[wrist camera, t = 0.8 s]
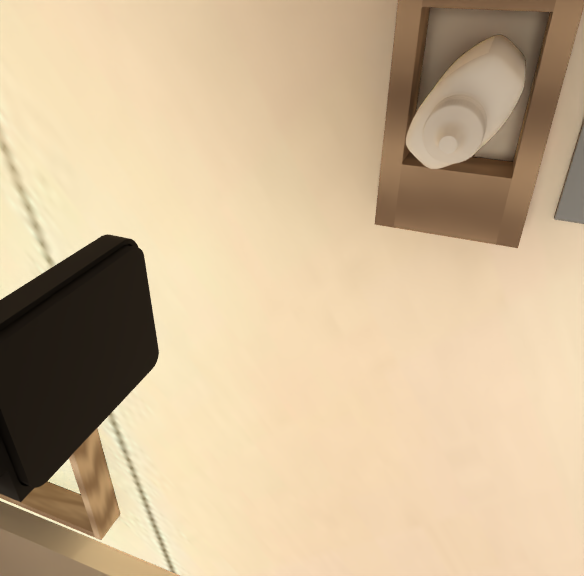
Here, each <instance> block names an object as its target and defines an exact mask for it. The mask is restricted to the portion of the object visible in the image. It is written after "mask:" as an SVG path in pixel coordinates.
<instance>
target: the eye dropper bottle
mask: <svg viewBox="0 0 584 576" xmlns="http://www.w3.org/2000/svg"><path fill="white" fill-rule="evenodd" d="M525 67H526V60H525V58H524V55H523V54H522V53H521V52H520V51H519V50H518V49H517V47H516V46H515V45H514V44H513V43H512V42H511V41H510V40H509V39H507V38H506V37H505V36H502V35H495V36H493V37H490V38H488V39H486V40H484V41H482V42H481V43H479V44H477V45H476V46H474V47H473V48H471V49H470V50H468V51H467V52H466V53H464V54H463V55H462V56H461V57H460V58H458V59H457V60H456V61H455V62H454V63H453V64H452V65H451V66H450V67H449V69H448V70H447V71H446V72H445V73H444V75H443V76H442V77H441V79H440V80H439V81H438V83H437V84H436V85H435V87H434V88H433V89H432V91H431V92H430V93H429V95H428V96H427V97H426V99H425V100H424V102H423V103H422V104H421V106H420V108H419V109H418V111H417V112H416V114H415V116H414V118H413V120H412V122H411V125H410V127H409V130H408V133H407V136H406V145H407V147H408V149H409V151H410V152H411V153H412V154H413V155H414V156H415V157H416V158H417V159H418V160H419V161H420V162H421V163H422V164H423V165H425V166H426V167H428V168H430V169H439V168H443V167H446V166H449V165H452V164H454V163H456V164H457V163H460V162H463V161H466V159H469V157H472V155H474V154H475V153H476V152H477V151H478V150H479V149H480V148H481V147H482V146H483V145H485V144H486V143H487V142H488V141H489V140H490V139H491V138H492V137H493V136H494V135H495V134H496V133H497V132H498V130H499V129H500V128H501V127H502V126H503V124H504V123H505V122H506V120H507V119H508V117H509V116H510V114H511V113H512V111H513V109H514V108H515V106H516V104H517V102H518V100H519V98H520V96H521V94H522V91H523V88H524V82H525Z"/></svg>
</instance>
